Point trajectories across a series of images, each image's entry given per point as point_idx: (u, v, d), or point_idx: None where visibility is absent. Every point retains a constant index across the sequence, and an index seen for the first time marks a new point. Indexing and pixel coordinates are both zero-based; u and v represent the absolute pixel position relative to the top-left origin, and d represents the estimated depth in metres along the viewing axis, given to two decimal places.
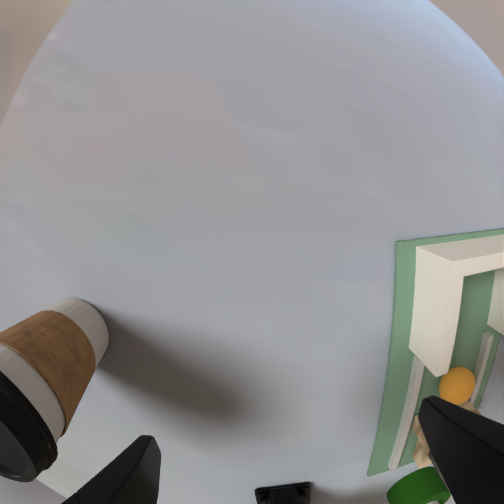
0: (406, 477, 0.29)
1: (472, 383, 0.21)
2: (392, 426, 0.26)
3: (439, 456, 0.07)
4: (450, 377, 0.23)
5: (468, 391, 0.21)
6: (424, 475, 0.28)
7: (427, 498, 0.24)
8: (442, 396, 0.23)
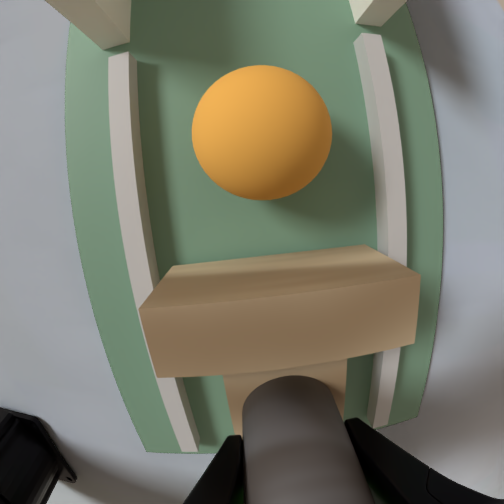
0: None
1: (288, 80, 0.07)
2: (123, 296, 0.11)
3: None
4: None
5: (265, 94, 0.06)
6: None
7: None
8: (196, 154, 0.08)
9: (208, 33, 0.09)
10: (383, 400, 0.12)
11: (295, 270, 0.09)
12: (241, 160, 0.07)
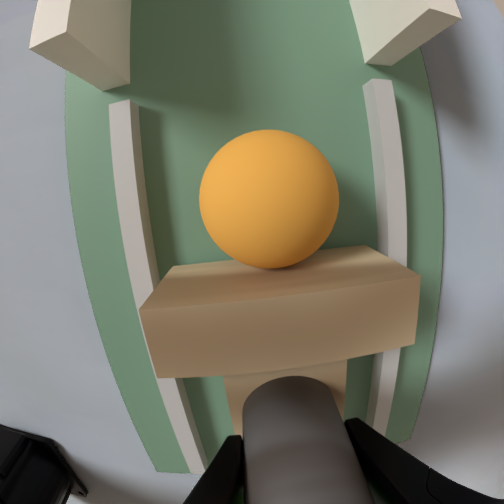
0: None
1: (298, 156, 0.07)
2: (134, 339, 0.12)
3: None
4: None
5: (275, 177, 0.07)
6: None
7: None
8: (204, 223, 0.09)
9: (212, 76, 0.10)
10: (378, 428, 0.12)
11: (295, 271, 0.09)
12: (250, 242, 0.07)
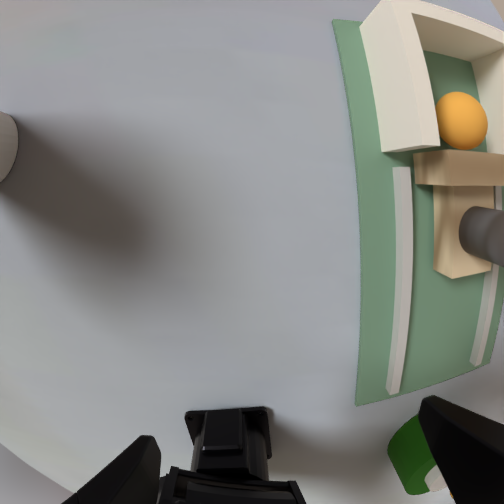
0: (414, 419, 0.23)
1: None
2: (383, 302, 0.20)
3: (439, 456, 0.07)
4: (455, 138, 0.15)
5: None
6: None
7: None
8: (436, 113, 0.16)
9: None
10: (481, 348, 0.20)
11: None
12: None
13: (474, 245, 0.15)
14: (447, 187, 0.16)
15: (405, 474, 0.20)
